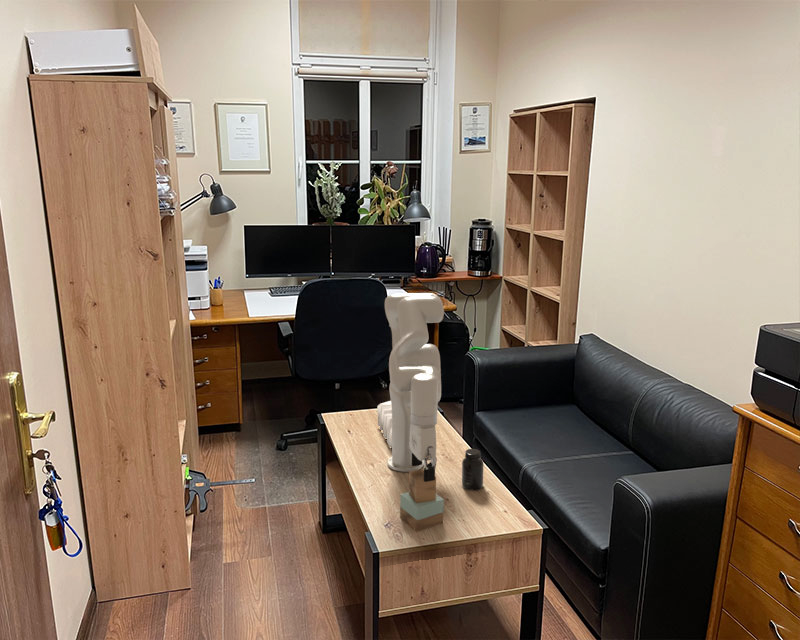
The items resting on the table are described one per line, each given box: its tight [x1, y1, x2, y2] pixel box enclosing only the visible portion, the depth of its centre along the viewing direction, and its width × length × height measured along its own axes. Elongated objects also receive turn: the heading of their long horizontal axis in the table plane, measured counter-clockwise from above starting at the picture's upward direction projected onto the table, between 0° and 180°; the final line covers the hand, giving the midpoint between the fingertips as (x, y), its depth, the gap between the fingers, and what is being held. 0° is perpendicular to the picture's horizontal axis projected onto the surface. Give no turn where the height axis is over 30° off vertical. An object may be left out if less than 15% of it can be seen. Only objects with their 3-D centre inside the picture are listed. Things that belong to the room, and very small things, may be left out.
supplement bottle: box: [461, 448, 484, 491], centre depth 209 cm, size 7×7×12 cm
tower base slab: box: [399, 506, 444, 532], centre depth 189 cm, size 9×9×4 cm
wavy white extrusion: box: [377, 400, 392, 449], centre depth 250 cm, size 35×16×11 cm, turn 11°
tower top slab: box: [399, 491, 445, 520], centre depth 188 cm, size 9×9×4 cm
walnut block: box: [408, 468, 437, 503], centre depth 187 cm, size 6×6×7 cm
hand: (422, 472), depth 187 cm, fingers open, 9 cm apart
